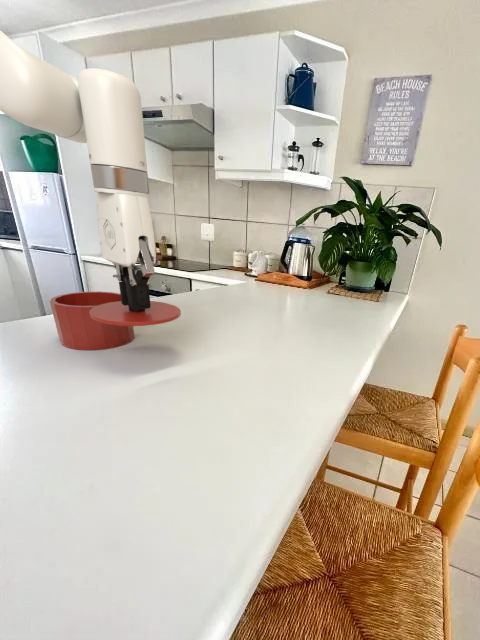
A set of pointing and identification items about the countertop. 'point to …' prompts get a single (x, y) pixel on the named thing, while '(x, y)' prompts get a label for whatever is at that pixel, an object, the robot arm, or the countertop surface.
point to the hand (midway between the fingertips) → (136, 305)
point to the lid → (134, 312)
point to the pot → (87, 322)
